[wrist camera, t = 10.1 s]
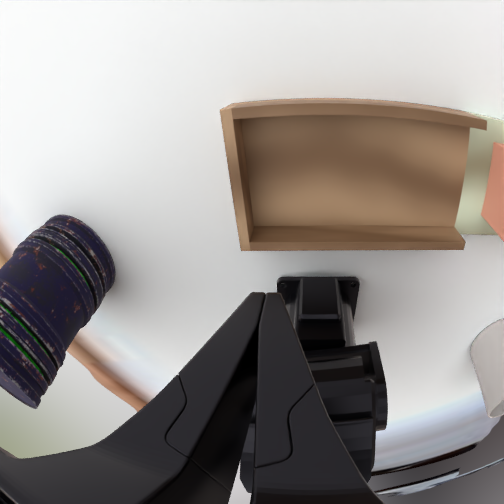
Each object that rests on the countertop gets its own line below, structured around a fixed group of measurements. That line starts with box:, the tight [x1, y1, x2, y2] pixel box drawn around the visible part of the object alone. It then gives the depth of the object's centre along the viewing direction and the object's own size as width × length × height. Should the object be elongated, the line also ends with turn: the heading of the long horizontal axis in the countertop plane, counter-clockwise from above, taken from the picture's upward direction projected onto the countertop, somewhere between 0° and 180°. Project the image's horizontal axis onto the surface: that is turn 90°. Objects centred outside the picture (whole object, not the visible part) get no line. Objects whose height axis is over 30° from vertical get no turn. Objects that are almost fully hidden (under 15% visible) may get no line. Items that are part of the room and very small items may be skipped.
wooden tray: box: [220, 98, 504, 251], centre depth 15 cm, size 9×23×3 cm, turn 96°
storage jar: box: [0, 215, 115, 409], centre depth 20 cm, size 10×10×15 cm
